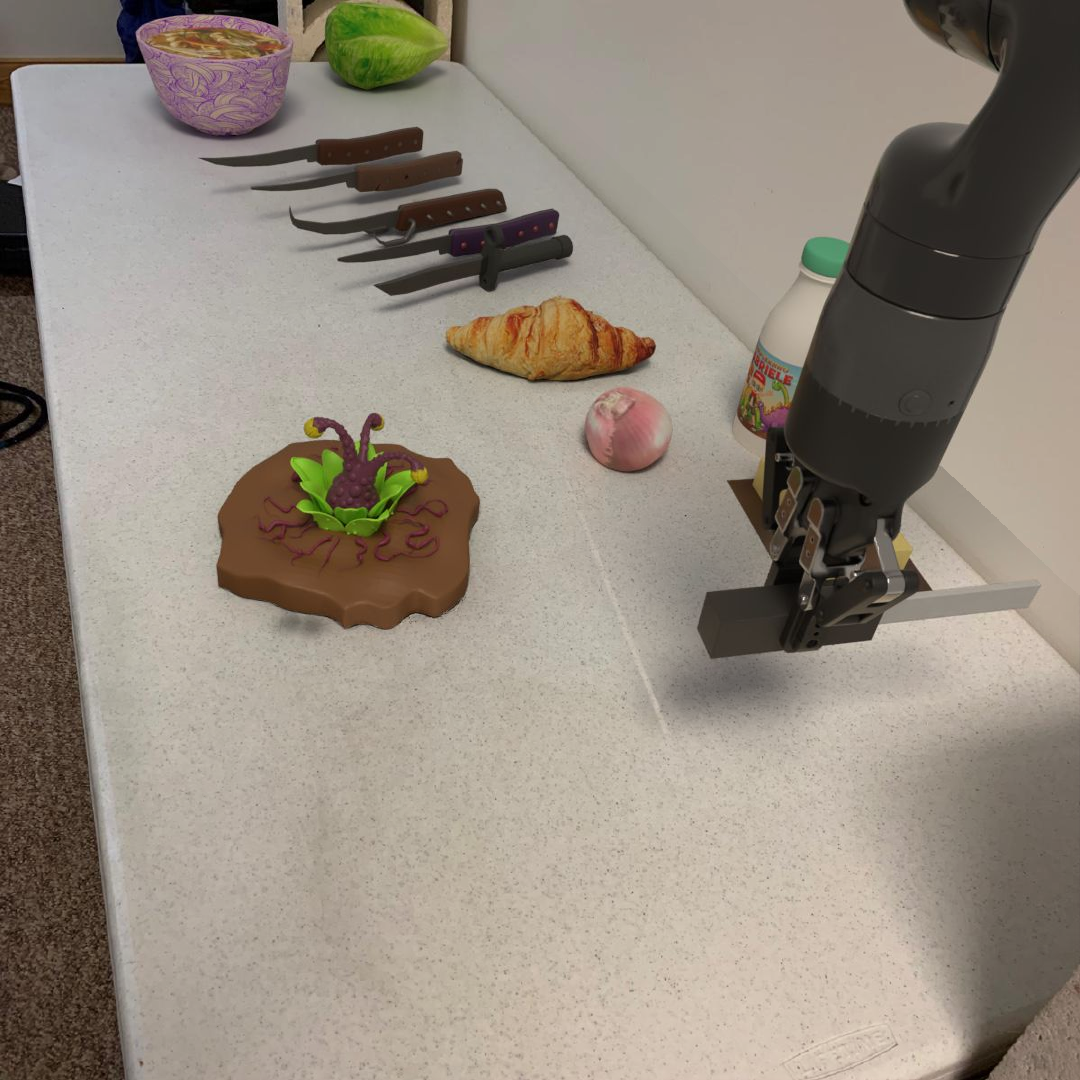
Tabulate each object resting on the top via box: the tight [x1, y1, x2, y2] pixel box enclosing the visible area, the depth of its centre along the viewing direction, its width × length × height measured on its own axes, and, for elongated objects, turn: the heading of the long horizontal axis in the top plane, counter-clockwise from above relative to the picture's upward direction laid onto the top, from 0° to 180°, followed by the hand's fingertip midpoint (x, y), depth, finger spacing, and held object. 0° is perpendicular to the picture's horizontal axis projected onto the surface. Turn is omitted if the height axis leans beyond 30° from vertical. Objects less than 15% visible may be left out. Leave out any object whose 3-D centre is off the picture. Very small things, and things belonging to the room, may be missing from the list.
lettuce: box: [324, 1, 450, 91], centre depth 155 cm, size 14×20×12 cm
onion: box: [584, 386, 674, 472], centre depth 88 cm, size 8×8×7 cm
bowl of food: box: [135, 14, 295, 136], centre depth 135 cm, size 20×20×12 cm
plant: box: [215, 412, 481, 630], centre depth 75 cm, size 20×20×11 cm
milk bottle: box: [731, 236, 850, 458], centre depth 88 cm, size 8×8×20 cm
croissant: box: [444, 295, 657, 381], centre depth 99 cm, size 21×10×8 cm, turn 93°
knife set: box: [198, 126, 574, 297], centre depth 117 cm, size 35×33×8 cm
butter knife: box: [696, 579, 1042, 660], centre depth 58 cm, size 21×2×3 cm, turn 102°
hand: (787, 626), depth 57 cm, fingers closed on butter knife, 2 cm apart
